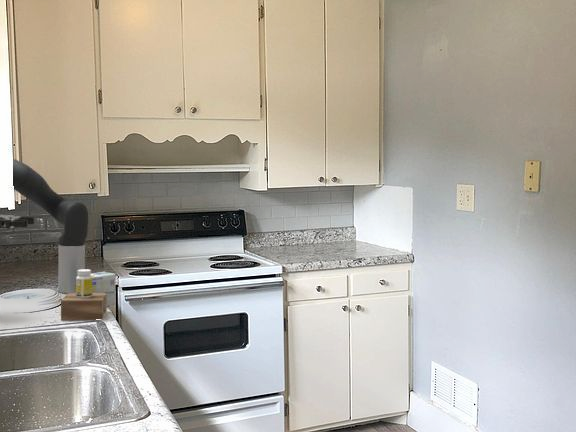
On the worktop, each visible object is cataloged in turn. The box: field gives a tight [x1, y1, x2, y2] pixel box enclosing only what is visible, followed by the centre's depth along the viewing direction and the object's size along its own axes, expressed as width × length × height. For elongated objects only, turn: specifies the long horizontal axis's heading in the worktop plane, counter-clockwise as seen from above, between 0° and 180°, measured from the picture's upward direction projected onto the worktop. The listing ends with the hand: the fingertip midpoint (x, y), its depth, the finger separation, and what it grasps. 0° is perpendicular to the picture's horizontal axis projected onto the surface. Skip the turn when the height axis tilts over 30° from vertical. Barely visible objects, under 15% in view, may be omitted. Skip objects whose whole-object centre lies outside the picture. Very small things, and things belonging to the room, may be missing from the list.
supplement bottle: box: [76, 268, 92, 298], centre depth 204 cm, size 5×5×8 cm
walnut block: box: [60, 293, 107, 321], centre depth 204 cm, size 12×12×6 cm
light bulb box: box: [90, 271, 116, 307], centre depth 218 cm, size 11×7×11 cm, turn 141°
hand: (30, 222), depth 200 cm, fingers open, 8 cm apart
